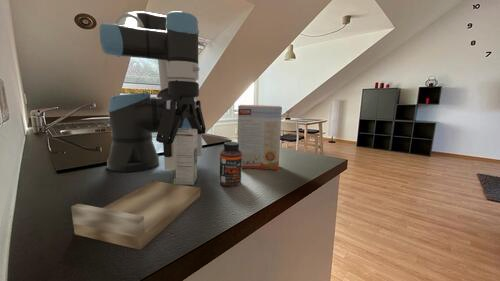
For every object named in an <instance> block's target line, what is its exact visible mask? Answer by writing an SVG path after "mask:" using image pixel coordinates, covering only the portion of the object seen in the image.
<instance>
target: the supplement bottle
mask: <svg viewBox="0 0 500 281" xmlns="http://www.w3.org/2000/svg"><path fill="white" fill-rule="evenodd" d="M238 148H239V143H237V142H236V141H226V142H224V143H223V149H222V150H221V151H220V153H219V183H220V184H221V185H222V186H225V187H235V186H238V185H240V184H241V181H242V169H243V168H242V153H241V151H240V150H239V149H238Z"/></svg>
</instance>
